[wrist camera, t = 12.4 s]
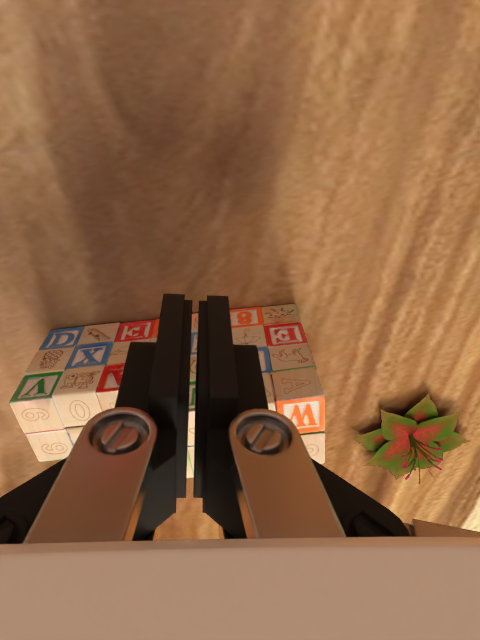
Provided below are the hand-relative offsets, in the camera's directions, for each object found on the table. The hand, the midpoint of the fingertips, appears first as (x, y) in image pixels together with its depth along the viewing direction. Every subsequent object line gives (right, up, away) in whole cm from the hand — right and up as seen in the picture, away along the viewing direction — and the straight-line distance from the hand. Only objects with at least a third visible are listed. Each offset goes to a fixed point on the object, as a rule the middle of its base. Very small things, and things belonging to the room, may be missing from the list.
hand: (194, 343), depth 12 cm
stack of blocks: (-4, -2, +28) cm, 28 cm away
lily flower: (+19, -11, +35) cm, 41 cm away
